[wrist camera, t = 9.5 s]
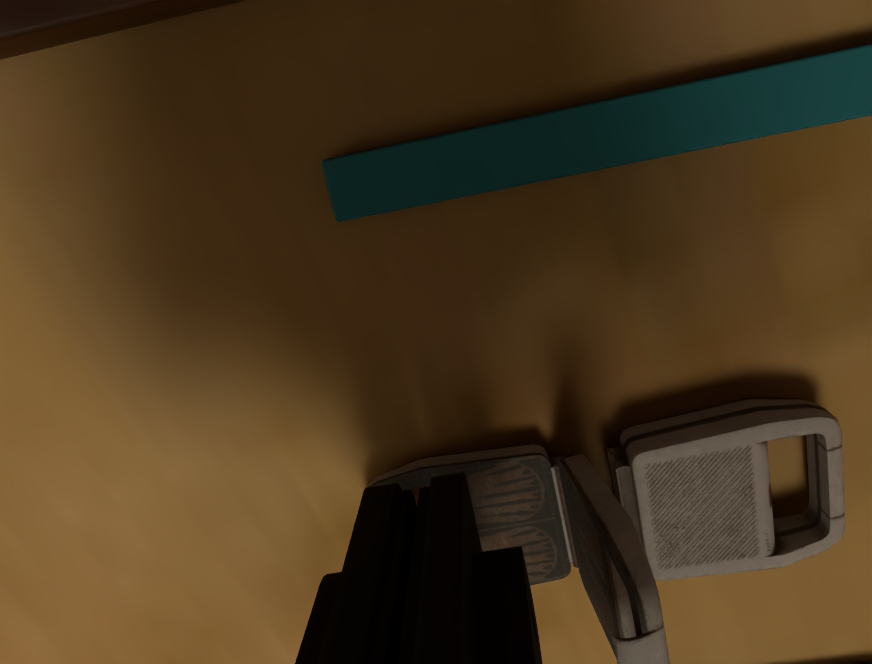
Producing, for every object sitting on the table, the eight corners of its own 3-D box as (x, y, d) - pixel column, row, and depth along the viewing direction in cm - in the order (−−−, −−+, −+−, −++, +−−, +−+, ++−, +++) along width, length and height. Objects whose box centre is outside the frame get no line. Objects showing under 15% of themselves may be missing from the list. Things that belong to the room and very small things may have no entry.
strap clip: (819, 382, 11) (1012, 527, 7) (826, 524, 12) (1002, 723, 8) (359, 466, 12) (307, 636, 8) (397, 593, 13) (367, 801, 9)
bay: (1203, -29, 9) (1234, -33, 9) (1096, 673, 13) (1115, 690, 13) (324, 158, 11) (320, 160, 10) (470, 741, 15) (470, 758, 14)
